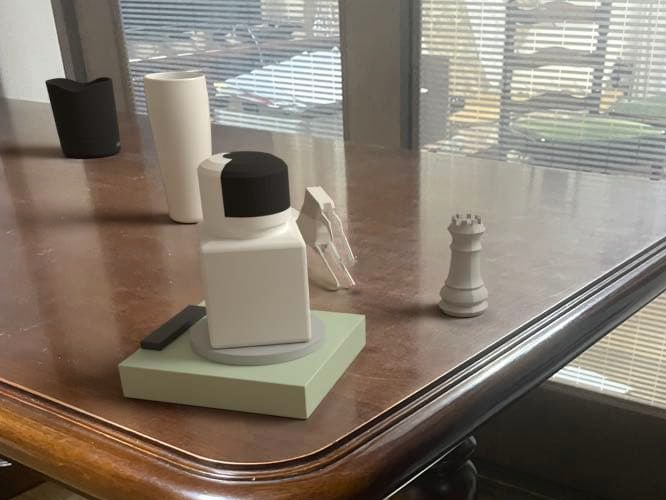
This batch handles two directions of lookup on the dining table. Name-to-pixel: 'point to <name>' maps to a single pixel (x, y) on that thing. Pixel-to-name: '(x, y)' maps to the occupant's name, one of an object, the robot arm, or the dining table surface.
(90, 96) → the pen holder
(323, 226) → the white angular pronged piece
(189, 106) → the drinking glass
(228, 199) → the medicine bottle
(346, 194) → the dining table surface
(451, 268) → the rook chess piece
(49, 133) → the dining table surface
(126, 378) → the scale
